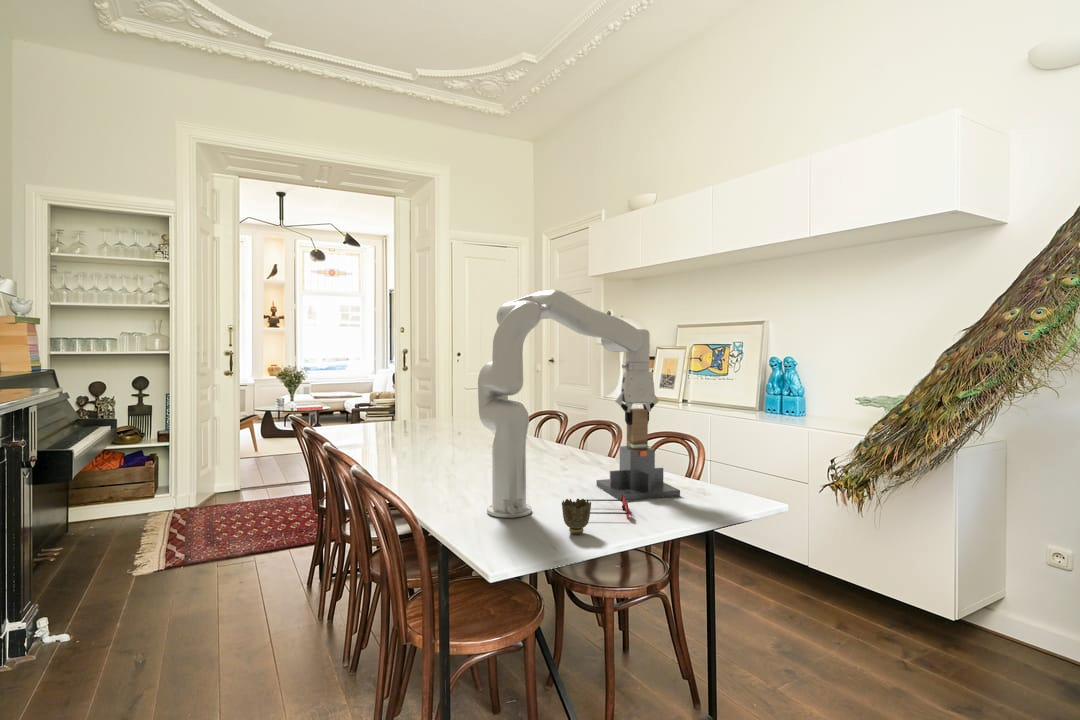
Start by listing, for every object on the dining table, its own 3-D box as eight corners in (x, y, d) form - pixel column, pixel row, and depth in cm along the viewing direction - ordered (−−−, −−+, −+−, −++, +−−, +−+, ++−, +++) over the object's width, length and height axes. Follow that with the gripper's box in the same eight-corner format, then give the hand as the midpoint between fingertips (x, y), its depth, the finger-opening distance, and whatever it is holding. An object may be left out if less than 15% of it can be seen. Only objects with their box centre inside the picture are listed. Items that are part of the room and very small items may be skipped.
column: (647, 469, 192) (648, 409, 191) (633, 470, 191) (633, 410, 190) (640, 466, 197) (640, 408, 196) (626, 466, 195) (626, 408, 195)
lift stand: (680, 496, 187) (680, 451, 187) (620, 501, 182) (620, 455, 181) (650, 482, 206) (651, 441, 206) (596, 486, 201) (596, 444, 200)
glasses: (632, 523, 161) (632, 504, 161) (570, 522, 162) (570, 504, 162) (625, 508, 175) (625, 491, 175) (569, 508, 176) (569, 491, 176)
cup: (589, 528, 155) (589, 497, 155) (592, 537, 148) (593, 505, 147) (560, 528, 155) (560, 498, 155) (562, 538, 147) (562, 505, 147)
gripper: (617, 368, 187) (617, 426, 187) (667, 367, 191) (666, 424, 192) (608, 367, 194) (608, 423, 195) (656, 366, 199) (655, 421, 199)
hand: (637, 423), depth 193 cm, fingers closed on column, 5 cm apart
